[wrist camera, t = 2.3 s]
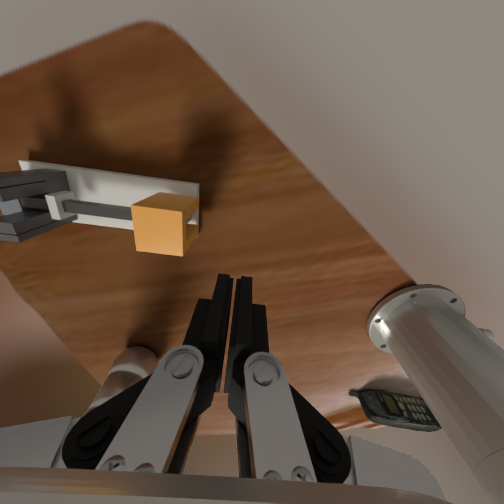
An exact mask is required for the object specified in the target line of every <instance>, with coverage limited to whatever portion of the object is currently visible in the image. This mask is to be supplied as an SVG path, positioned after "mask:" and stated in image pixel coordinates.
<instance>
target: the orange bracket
mask: <svg viewBox="0 0 504 504" xmlns="http://www.w3.org/2000/svg"><path fill="white" fill-rule="evenodd" d="M198 207H199V197H194V196H187V195H179V194H172V193H164V192H159V193H156V194H154V195H152V196H150V197H147V198H145V199H143V200H141V201H139V202H136V203H134V204H132V205H131V212H132V220H133V228H134V235H135V243H136V251H143V252H151V253H159V254H167V255H175V256H184V254H185V253H186V251H187V250H188V248H189V247H190V245H191V244H192V242H193V241H194V240H195V238H196V237H197V235H198V234H199V225H196V224H188V223H187V224H186V220H187V219H188V218H189V217H190V216H191V215H192V214H193V213H194V212H195V210H196V209H197V208H198Z"/></svg>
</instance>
